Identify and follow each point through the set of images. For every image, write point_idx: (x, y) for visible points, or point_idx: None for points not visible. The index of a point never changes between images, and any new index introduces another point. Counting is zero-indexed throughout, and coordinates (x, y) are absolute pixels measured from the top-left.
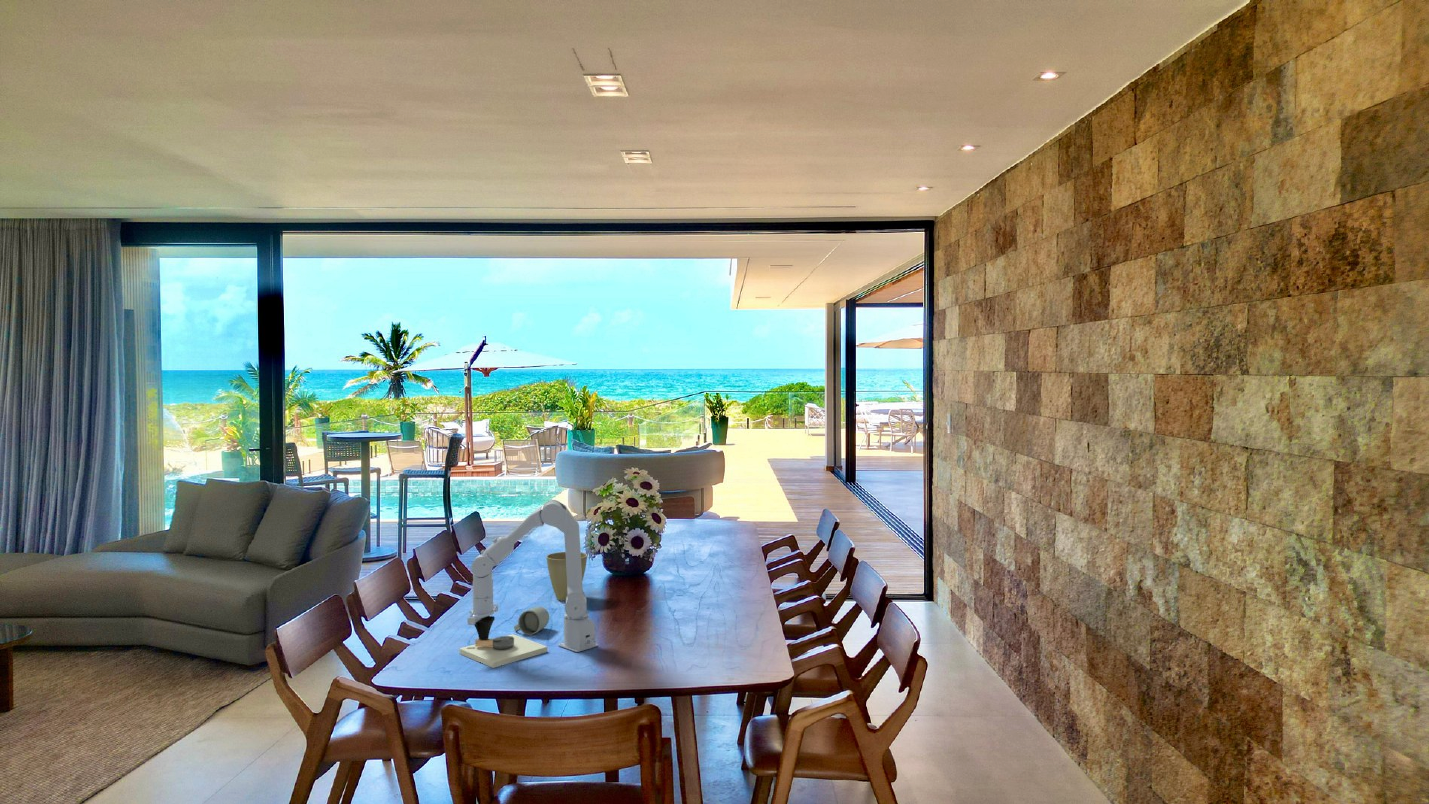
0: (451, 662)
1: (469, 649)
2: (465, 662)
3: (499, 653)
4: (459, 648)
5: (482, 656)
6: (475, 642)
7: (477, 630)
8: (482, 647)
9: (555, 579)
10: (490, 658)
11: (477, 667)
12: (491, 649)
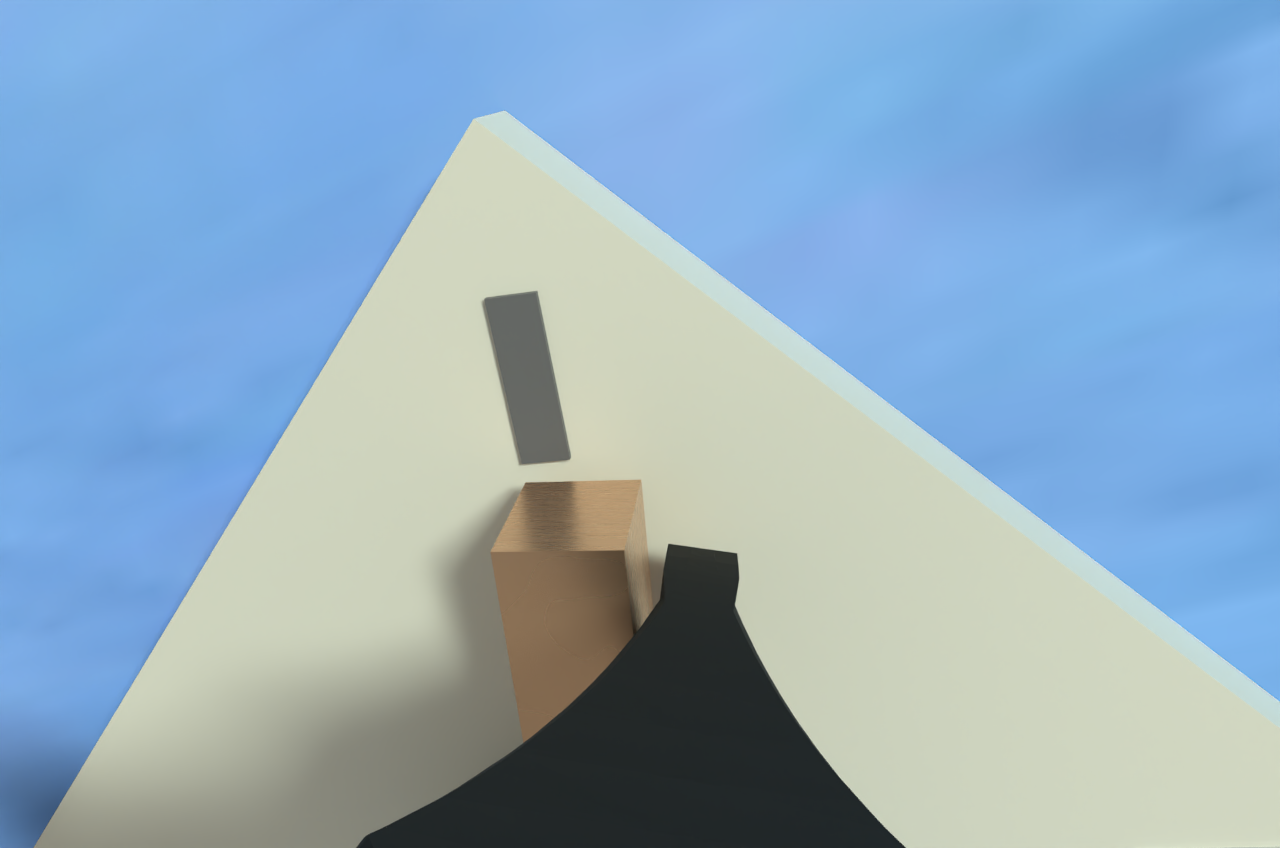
0: (35, 178)
1: (447, 377)
2: (120, 420)
3: None
4: (474, 122)
5: (172, 705)
6: (505, 527)
7: (587, 703)
8: None
9: None
10: (136, 822)
11: (13, 650)
12: (517, 739)
